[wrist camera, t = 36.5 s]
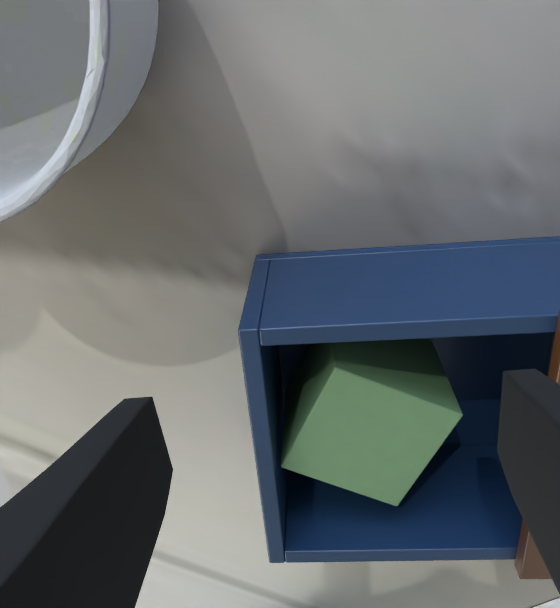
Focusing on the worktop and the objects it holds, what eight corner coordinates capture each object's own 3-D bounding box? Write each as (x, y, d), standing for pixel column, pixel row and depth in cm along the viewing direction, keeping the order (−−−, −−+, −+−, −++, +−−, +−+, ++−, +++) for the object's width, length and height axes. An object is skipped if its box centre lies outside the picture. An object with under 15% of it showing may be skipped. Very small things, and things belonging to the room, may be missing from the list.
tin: (576, 234, 19) (678, 308, 14) (538, 442, 24) (605, 559, 19) (255, 254, 20) (237, 330, 15) (277, 450, 25) (268, 563, 19)
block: (433, 342, 21) (463, 415, 17) (381, 424, 23) (397, 507, 19) (329, 301, 20) (334, 367, 16) (285, 389, 22) (280, 467, 18)
